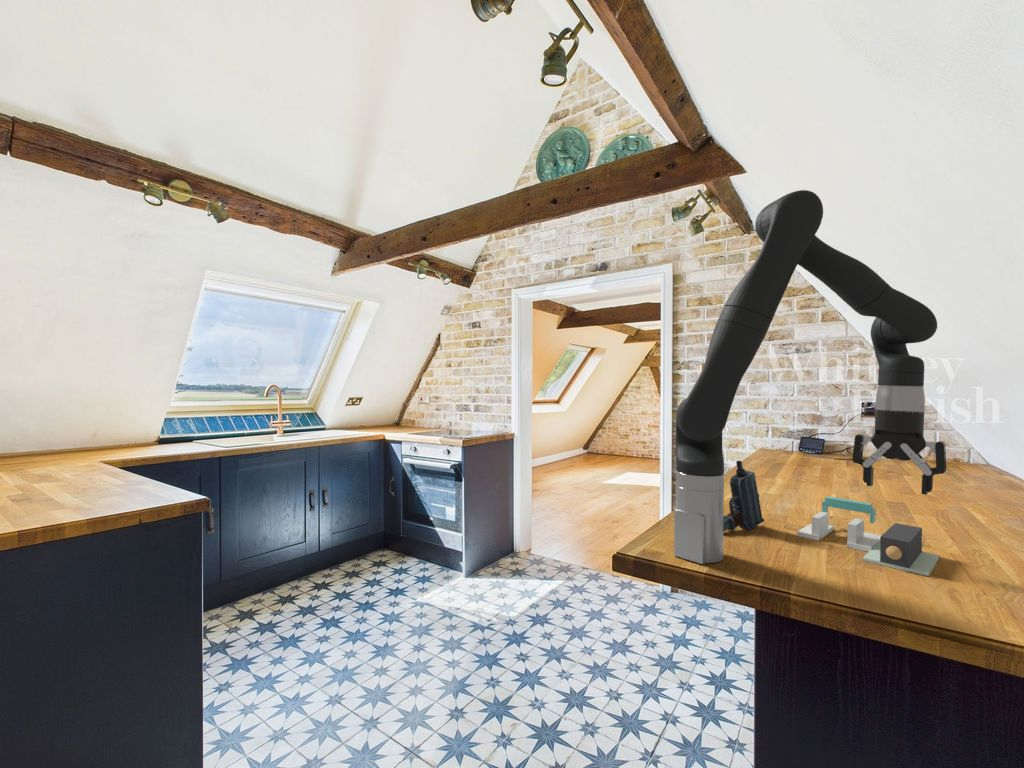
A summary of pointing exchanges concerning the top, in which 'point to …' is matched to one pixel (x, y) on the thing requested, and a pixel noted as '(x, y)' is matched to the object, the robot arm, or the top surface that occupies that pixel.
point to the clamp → (855, 532)
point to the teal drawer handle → (849, 506)
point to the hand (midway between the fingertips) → (896, 489)
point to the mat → (920, 566)
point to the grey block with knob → (901, 545)
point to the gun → (743, 501)
